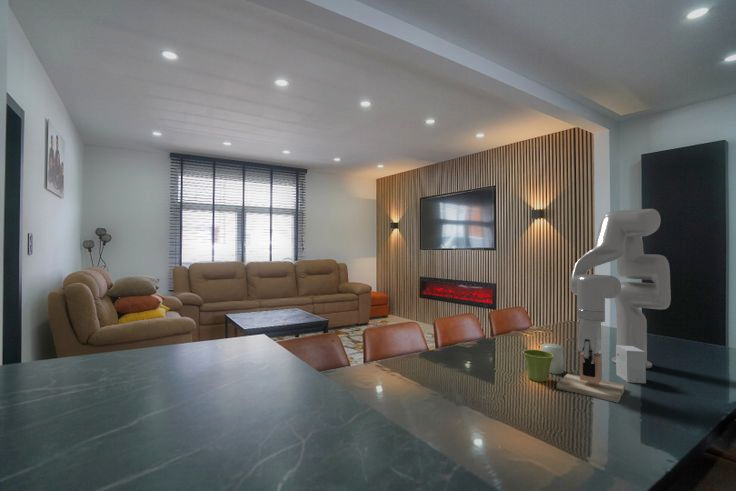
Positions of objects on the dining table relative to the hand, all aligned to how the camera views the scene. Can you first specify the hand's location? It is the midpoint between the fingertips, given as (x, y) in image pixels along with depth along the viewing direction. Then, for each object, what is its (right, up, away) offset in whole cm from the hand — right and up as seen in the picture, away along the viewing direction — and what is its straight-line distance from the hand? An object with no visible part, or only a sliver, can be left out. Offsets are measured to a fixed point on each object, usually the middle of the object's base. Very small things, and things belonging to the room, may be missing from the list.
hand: (590, 373), depth 114 cm
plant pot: (-13, -5, +8) cm, 16 cm away
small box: (+19, -6, +9) cm, 22 cm away
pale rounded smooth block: (-3, -5, +17) cm, 18 cm away
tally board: (0, -5, 0) cm, 5 cm away
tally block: (0, -2, 0) cm, 2 cm away
